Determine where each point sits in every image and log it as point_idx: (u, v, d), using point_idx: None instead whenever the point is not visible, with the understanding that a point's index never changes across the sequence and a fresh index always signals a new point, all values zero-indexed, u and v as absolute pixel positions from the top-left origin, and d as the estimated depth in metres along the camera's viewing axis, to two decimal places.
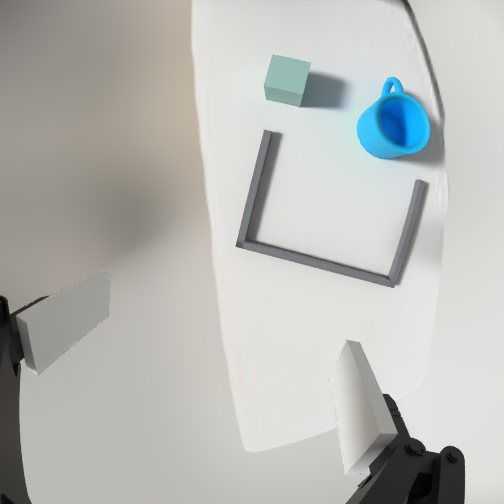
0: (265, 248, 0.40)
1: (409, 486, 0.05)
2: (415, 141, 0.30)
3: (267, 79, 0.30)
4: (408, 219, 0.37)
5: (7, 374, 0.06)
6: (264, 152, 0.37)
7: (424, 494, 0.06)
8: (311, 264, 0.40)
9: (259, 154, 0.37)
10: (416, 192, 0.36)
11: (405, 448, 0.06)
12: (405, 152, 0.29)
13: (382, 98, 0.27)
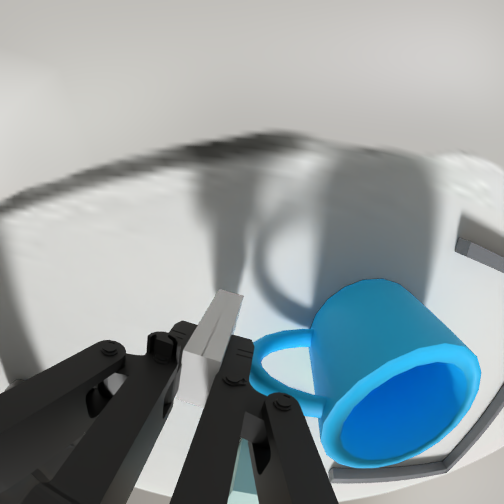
0: (462, 453, 0.18)
1: (242, 418, 0.07)
2: None
3: None
4: None
5: (153, 420, 0.07)
6: (360, 479, 0.19)
7: None
8: (500, 409, 0.16)
9: (361, 482, 0.19)
10: None
11: (223, 381, 0.09)
12: (470, 402, 0.09)
13: (339, 459, 0.10)
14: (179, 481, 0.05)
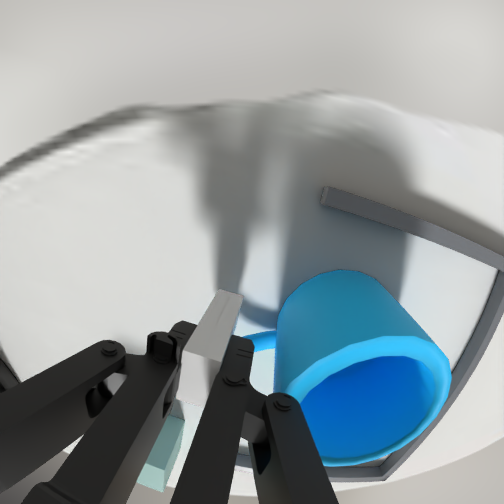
0: (399, 460, 0.18)
1: (243, 418, 0.07)
2: None
3: (152, 487, 0.16)
4: None
5: (153, 420, 0.07)
6: None
7: None
8: (443, 413, 0.17)
9: None
10: (357, 214, 0.14)
11: (223, 381, 0.09)
12: (446, 391, 0.09)
13: None
14: (179, 481, 0.05)
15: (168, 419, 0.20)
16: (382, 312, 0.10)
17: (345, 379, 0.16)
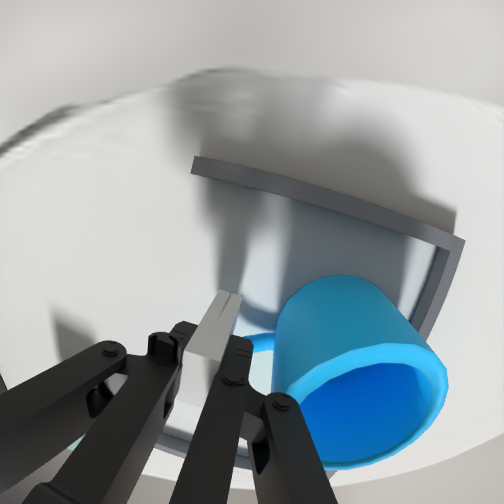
0: None
1: (241, 418, 0.07)
2: None
3: None
4: None
5: (154, 420, 0.07)
6: None
7: None
8: None
9: None
10: None
11: (222, 380, 0.09)
12: (442, 400, 0.09)
13: None
14: (178, 481, 0.05)
15: None
16: (383, 319, 0.10)
17: (341, 384, 0.16)
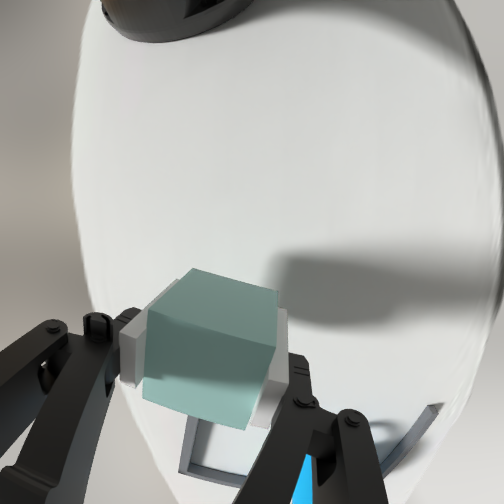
0: (212, 479, 0.24)
1: (309, 440, 0.07)
2: None
3: (147, 385, 0.11)
4: (400, 448, 0.22)
5: (97, 397, 0.07)
6: None
7: (334, 461, 0.08)
8: None
9: None
10: (421, 425, 0.21)
11: (294, 402, 0.08)
12: None
13: None
14: (239, 497, 0.04)
15: None
16: None
17: None
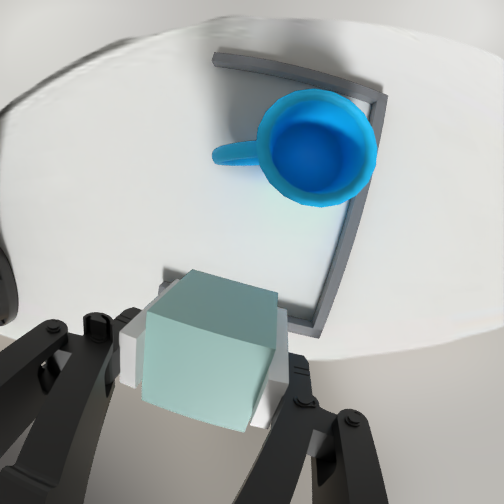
0: (325, 300, 0.26)
1: (308, 440, 0.07)
2: (336, 114, 0.18)
3: (146, 387, 0.11)
4: (276, 73, 0.22)
5: (97, 397, 0.07)
6: None
7: (334, 461, 0.08)
8: (353, 232, 0.24)
9: None
10: (232, 63, 0.22)
11: (294, 402, 0.08)
12: (374, 142, 0.16)
13: (282, 190, 0.18)
14: (239, 497, 0.04)
15: None
16: None
17: (314, 191, 0.24)
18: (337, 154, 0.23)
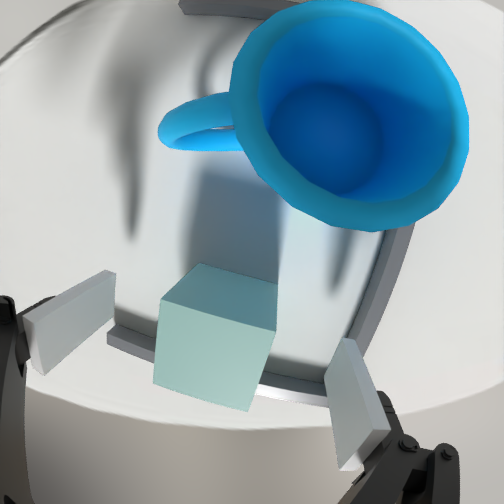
0: None
1: (403, 483, 0.05)
2: (384, 55, 0.08)
3: (158, 370, 0.12)
4: None
5: (13, 375, 0.06)
6: (145, 351, 0.17)
7: (418, 492, 0.06)
8: (398, 262, 0.14)
9: (150, 359, 0.17)
10: (208, 5, 0.12)
11: (398, 445, 0.06)
12: (462, 105, 0.06)
13: (287, 193, 0.08)
14: None
15: None
16: None
17: (340, 193, 0.14)
18: (375, 134, 0.13)
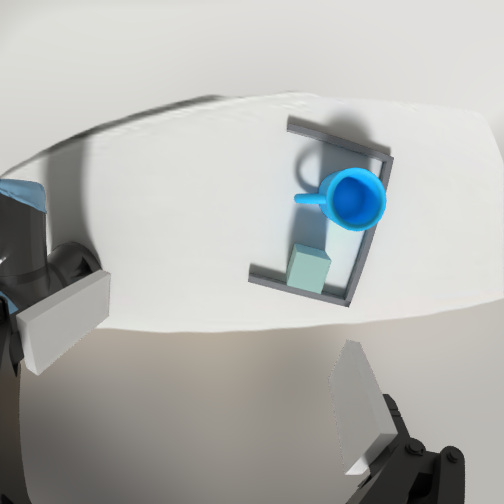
0: (352, 282, 0.42)
1: (409, 487, 0.05)
2: (365, 179, 0.34)
3: (290, 279, 0.39)
4: (327, 141, 0.39)
5: (7, 374, 0.06)
6: (268, 282, 0.44)
7: (424, 494, 0.06)
8: (369, 242, 0.41)
9: (270, 286, 0.44)
10: (300, 133, 0.38)
11: (405, 448, 0.06)
12: (385, 197, 0.33)
13: (338, 222, 0.34)
14: None
15: None
16: None
17: (348, 218, 0.40)
18: (362, 196, 0.40)
